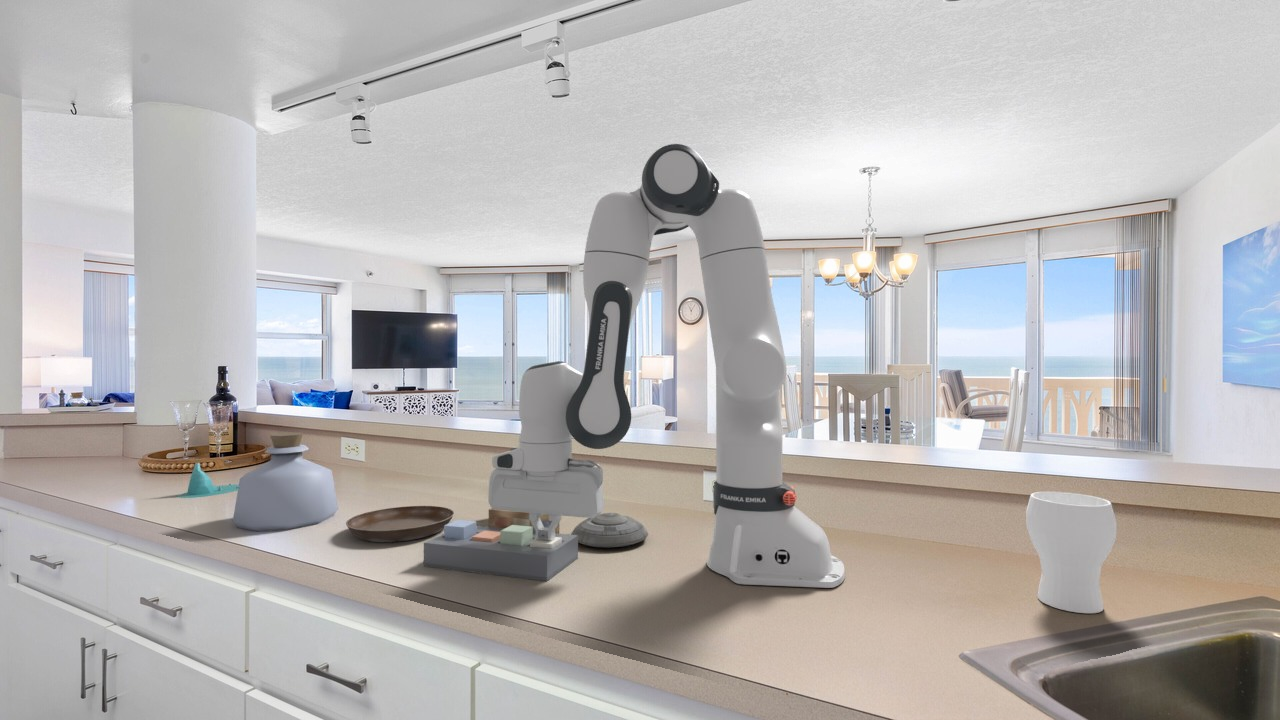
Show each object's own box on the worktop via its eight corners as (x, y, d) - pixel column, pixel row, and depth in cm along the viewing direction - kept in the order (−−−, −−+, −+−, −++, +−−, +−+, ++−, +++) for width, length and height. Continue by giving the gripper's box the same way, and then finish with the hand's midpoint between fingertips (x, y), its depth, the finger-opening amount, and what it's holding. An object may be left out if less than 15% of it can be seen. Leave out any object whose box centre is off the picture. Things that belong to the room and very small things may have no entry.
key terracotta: (504, 553, 109) (504, 532, 109) (492, 560, 106) (492, 538, 106) (484, 551, 111) (484, 530, 111) (471, 558, 107) (471, 536, 107)
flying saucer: (632, 556, 111) (632, 526, 111) (557, 548, 116) (557, 519, 116) (658, 534, 125) (657, 507, 125) (589, 528, 130) (589, 501, 130)
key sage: (532, 548, 108) (532, 526, 108) (521, 554, 104) (521, 532, 104) (512, 545, 109) (512, 524, 109) (500, 552, 105) (500, 530, 105)
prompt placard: (559, 551, 113) (559, 513, 113) (556, 554, 112) (556, 515, 111) (492, 544, 117) (492, 508, 117) (488, 547, 116) (488, 509, 116)
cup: (1085, 624, 82) (1085, 510, 82) (1009, 595, 92) (1009, 494, 91) (1133, 610, 86) (1133, 502, 86) (1056, 585, 96) (1056, 488, 96)
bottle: (357, 514, 140) (357, 431, 140) (271, 537, 123) (271, 442, 123) (302, 505, 150) (301, 427, 150) (214, 524, 132) (214, 436, 132)
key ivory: (562, 559, 106) (561, 537, 106) (551, 566, 102) (551, 544, 102) (541, 556, 107) (540, 535, 107) (529, 564, 103) (529, 542, 103)
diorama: (266, 486, 173) (266, 456, 173) (192, 502, 155) (192, 467, 155) (237, 483, 178) (237, 453, 178) (161, 498, 159) (161, 464, 159)
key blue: (476, 542, 111) (476, 521, 111) (463, 548, 107) (463, 527, 107) (457, 540, 112) (457, 519, 112) (444, 546, 109) (444, 525, 109)
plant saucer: (333, 530, 128) (333, 514, 128) (430, 514, 142) (430, 499, 142) (365, 554, 112) (364, 536, 112) (471, 533, 126) (471, 517, 126)
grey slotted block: (578, 558, 109) (577, 535, 109) (547, 581, 98) (547, 555, 98) (464, 545, 117) (464, 524, 117) (423, 566, 105) (423, 542, 105)
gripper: (609, 457, 104) (609, 539, 104) (502, 452, 111) (502, 529, 111) (595, 463, 98) (595, 550, 98) (483, 457, 105) (483, 538, 105)
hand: (545, 539), depth 105 cm, fingers closed, pressing on key ivory
